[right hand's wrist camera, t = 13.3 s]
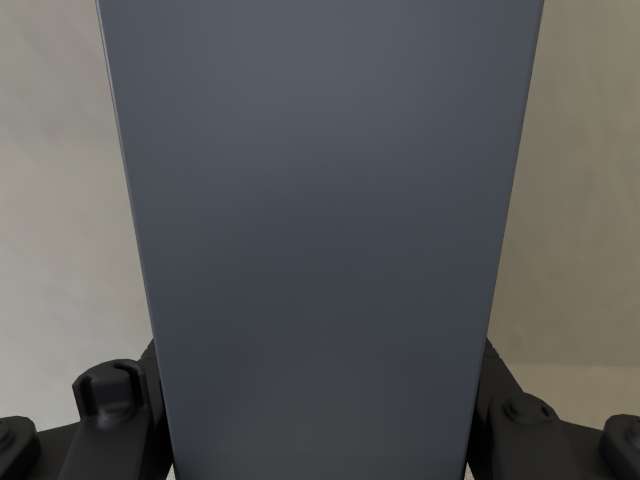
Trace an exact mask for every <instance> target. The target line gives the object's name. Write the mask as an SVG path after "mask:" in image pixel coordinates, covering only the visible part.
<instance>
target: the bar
mask: <svg viewBox="0 0 640 480" xmlns="http://www.w3.org/2000/svg"><path fill="white" fill-rule="evenodd" d="M95 2H96V8H97V13H98V19H99V25H100V31H101V37H102V42H103V48H104V54H105V60H106V66H107V71H108V77H109V83H110V89H111V95H112V100H113V106H114V112H115V118H116V124H117V129H118V135H119V141H120V147H121V153H122V158H123V164H124V170H125V176H126V181H127V187H128V193H129V199H130V205H131V210H132V216H133V222H134V228H135V234H136V239H137V245H138V251H139V257H140V263H141V268H142V274H143V280H144V286H145V292H146V297H147V303H148V309H149V315H150V321H151V326H152V332H153V338H154V344H155V350H156V355H157V361H158V367H159V373H160V378H161V384H162V390H163V396H164V402H165V407H166V413H167V419H168V425H169V431H170V436H171V442H172V448H173V454H174V460H175V465H176V471H177V477H178V480H462V475H463V469H464V463H465V458H466V452H467V446H468V440H469V434H470V429H471V423H472V417H473V411H474V405H475V400H476V394H477V388H478V382H479V376H480V370H481V365H482V359H483V353H484V347H485V341H486V336H487V330H488V324H489V318H490V312H491V307H492V301H493V295H494V289H495V283H496V278H497V272H498V266H499V260H500V254H501V248H502V243H503V237H504V231H505V225H506V219H507V214H508V208H509V202H510V196H511V190H512V185H513V179H514V173H515V167H516V161H517V156H518V150H519V144H520V138H521V132H522V126H523V121H524V115H525V109H526V103H527V97H528V92H529V86H530V80H531V74H532V68H533V63H534V57H535V51H536V45H537V39H538V34H539V28H540V22H541V16H542V10H543V5H544V0H95Z"/></svg>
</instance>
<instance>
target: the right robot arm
mask: <svg viewBox="0 0 640 480" xmlns="http://www.w3.org/2000/svg"><path fill="white" fill-rule="evenodd" d="M72 388H73V392H74V396H75V400H76V404H77V407H78V411H79V415H80V422H76V423H73V424H70V425H66V426H62V427H58V428H53V429H49V430H45V431H41V432H37V431H36V427H35V424H34V422H32V421H31V420H30V419H29V418H28V417H21V416H12V417H5V418H1V419H0V480H166V478H167V476H168V473H169V470H170V468H171V465H172V463H173V468H174V474H175V480H178V477H177V471H176V465H175V460H174V454H173V448H172V442H171V436H170V431H169V425H168V419H167V413H166V407H165V402H164V396H163V390H162V384H161V378H160V373H159V367H158V361H157V355H156V350H155V344H154V338H153V339H152V341H151V342H150V344H149V345H148V347H147V349H146V350H145V351H144V353H143V354H142V356H141V359H139V360H138V361H135V360H131V359H116V360H112V361H108V362H103V363H101V364H99V365H96V366H94V367H92V368H90V369H88V370H87V371H86V372H84V373H83V374H81V375H80V376H79V377H78V378H77V379H76V381H75V382H74V383H73V385H72ZM467 462H468V464H469V467H470V469H471V472H472V475H473V477H474V480H640V417H639V416H634V415H627V414H620V415H614V416H611V417H610V418H609V419H608V420H607V421H606V423H605V426H604V429H603V431H602V430H598V429H594V428H589V427H585V426H581V425H577V424H572V423H569V422H566V421H562V420H560V419H559V417H558V416H557V414H556V413H555V411H554V410H553V409H552V408H551V407H550V406H549V405H548V404H546V403H545V402H544V401H543V400H541V399H539V398H537V397H535V396H533V395H531V394H528V393H524V392H523V390H522V389H521V387H520V386H519V385H518V383H517V382H516V380H515V379H514V377H513V376H512V374H511V373H510V371H509V370H508V368H507V367H506V365H505V364H504V362H503V361H502V359H501V358H499V355H498V353H497V352H496V350H495V349H494V348H493V347H492V344H491V343H490V341H489V340H488V338H487V337H486V341H485V347H484V353H483V359H482V365H481V370H480V376H479V382H478V388H477V394H476V400H475V405H474V411H473V417H472V423H471V429H470V434H469V440H468V446H467V452H466V458H465V463H464V469H463V475H462V480H464V477H465V471H466V465H467Z"/></svg>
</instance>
